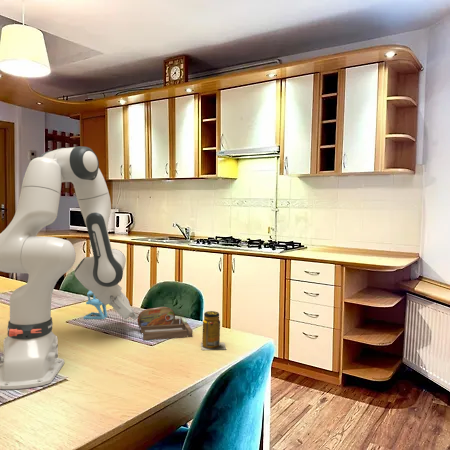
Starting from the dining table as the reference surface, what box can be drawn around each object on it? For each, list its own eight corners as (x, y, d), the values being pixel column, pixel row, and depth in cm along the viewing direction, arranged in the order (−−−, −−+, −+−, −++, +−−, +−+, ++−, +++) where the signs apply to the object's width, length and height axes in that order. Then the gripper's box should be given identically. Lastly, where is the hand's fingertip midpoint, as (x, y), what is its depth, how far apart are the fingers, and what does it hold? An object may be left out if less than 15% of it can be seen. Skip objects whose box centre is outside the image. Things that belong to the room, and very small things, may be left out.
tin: (139, 333, 159) (139, 311, 159) (136, 330, 162) (136, 309, 161) (175, 327, 167) (175, 306, 167) (171, 325, 170) (172, 304, 169)
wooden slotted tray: (192, 337, 157) (192, 328, 156) (143, 340, 151) (143, 331, 151) (183, 324, 172) (183, 316, 172) (139, 326, 167) (139, 319, 166)
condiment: (200, 343, 151) (201, 310, 150) (224, 342, 151) (225, 310, 151) (201, 350, 143) (202, 315, 143) (226, 350, 144) (227, 315, 143)
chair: (101, 320, 173) (102, 292, 173) (83, 319, 175) (83, 290, 174) (109, 315, 181) (110, 288, 180) (91, 314, 182) (92, 286, 182)
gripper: (117, 293, 149) (145, 319, 153) (115, 282, 169) (139, 305, 172) (104, 306, 148) (132, 332, 152) (103, 293, 167) (128, 316, 171)
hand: (136, 317), depth 162 cm, fingers closed
